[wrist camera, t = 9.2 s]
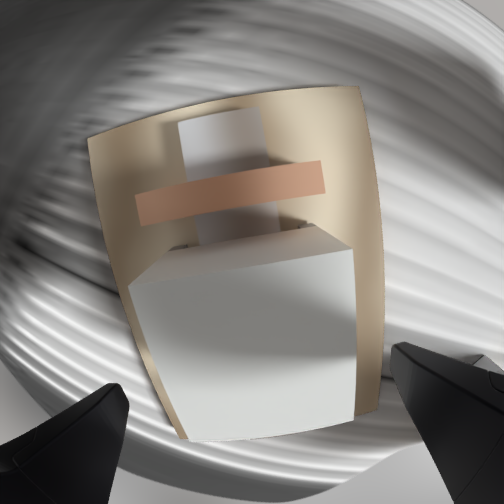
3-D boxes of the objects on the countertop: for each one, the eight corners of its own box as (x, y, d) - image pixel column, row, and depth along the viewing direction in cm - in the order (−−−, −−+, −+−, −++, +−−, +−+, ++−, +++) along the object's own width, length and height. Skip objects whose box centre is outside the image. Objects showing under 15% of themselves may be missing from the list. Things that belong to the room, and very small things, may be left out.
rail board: (352, 91, 13) (385, 64, 9) (372, 401, 17) (392, 441, 13) (96, 140, 13) (51, 131, 9) (182, 429, 18) (172, 472, 14)
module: (312, 222, 13) (352, 248, 8) (324, 350, 15) (353, 420, 9) (173, 246, 13) (127, 286, 8) (205, 368, 15) (190, 442, 10)
